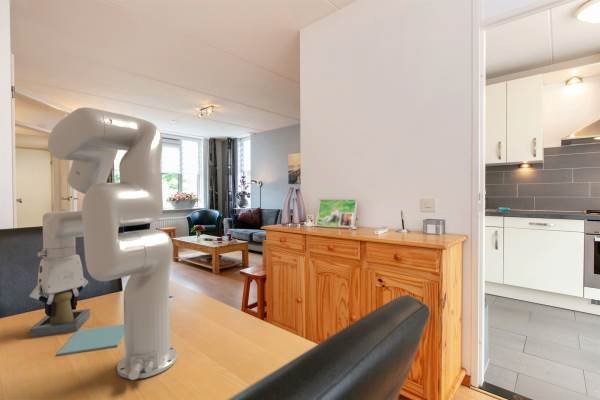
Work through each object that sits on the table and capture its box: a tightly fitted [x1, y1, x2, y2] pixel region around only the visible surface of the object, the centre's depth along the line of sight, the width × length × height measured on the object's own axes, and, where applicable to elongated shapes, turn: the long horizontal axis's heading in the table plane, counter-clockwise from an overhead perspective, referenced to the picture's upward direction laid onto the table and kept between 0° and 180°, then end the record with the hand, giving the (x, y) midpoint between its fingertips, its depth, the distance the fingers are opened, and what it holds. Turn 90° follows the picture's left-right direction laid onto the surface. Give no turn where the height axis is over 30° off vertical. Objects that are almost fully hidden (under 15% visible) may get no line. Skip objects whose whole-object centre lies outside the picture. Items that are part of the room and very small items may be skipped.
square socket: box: [29, 308, 91, 339], centre depth 89 cm, size 11×11×2 cm
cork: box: [50, 290, 74, 324], centre depth 89 cm, size 6×6×11 cm
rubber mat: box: [57, 323, 124, 356], centre depth 81 cm, size 13×13×1 cm
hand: (61, 311), depth 89 cm, fingers closed on cork, 4 cm apart
